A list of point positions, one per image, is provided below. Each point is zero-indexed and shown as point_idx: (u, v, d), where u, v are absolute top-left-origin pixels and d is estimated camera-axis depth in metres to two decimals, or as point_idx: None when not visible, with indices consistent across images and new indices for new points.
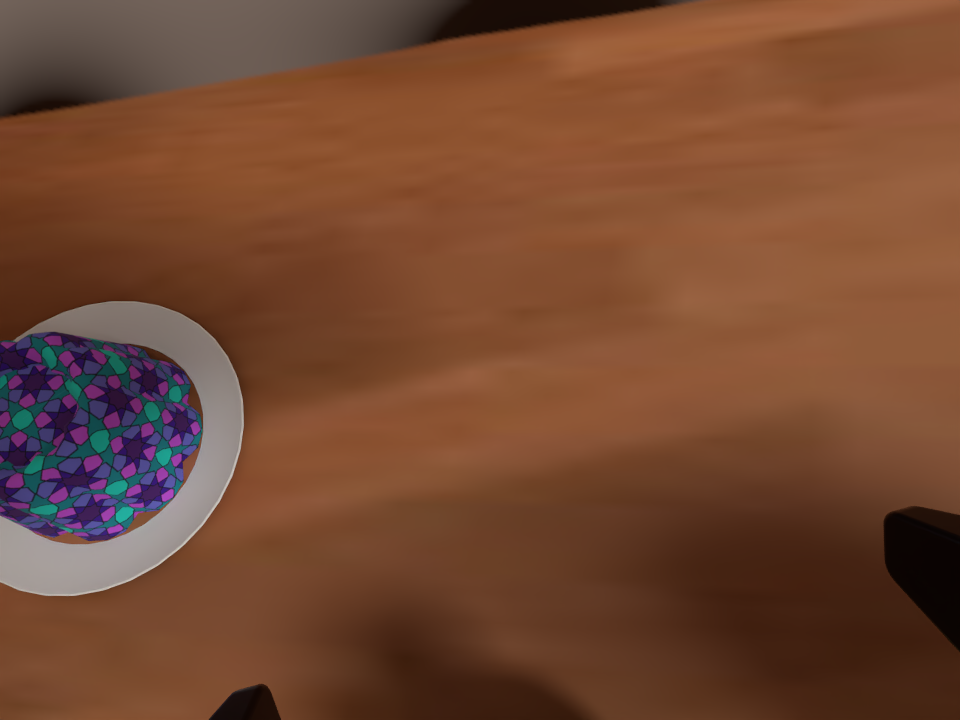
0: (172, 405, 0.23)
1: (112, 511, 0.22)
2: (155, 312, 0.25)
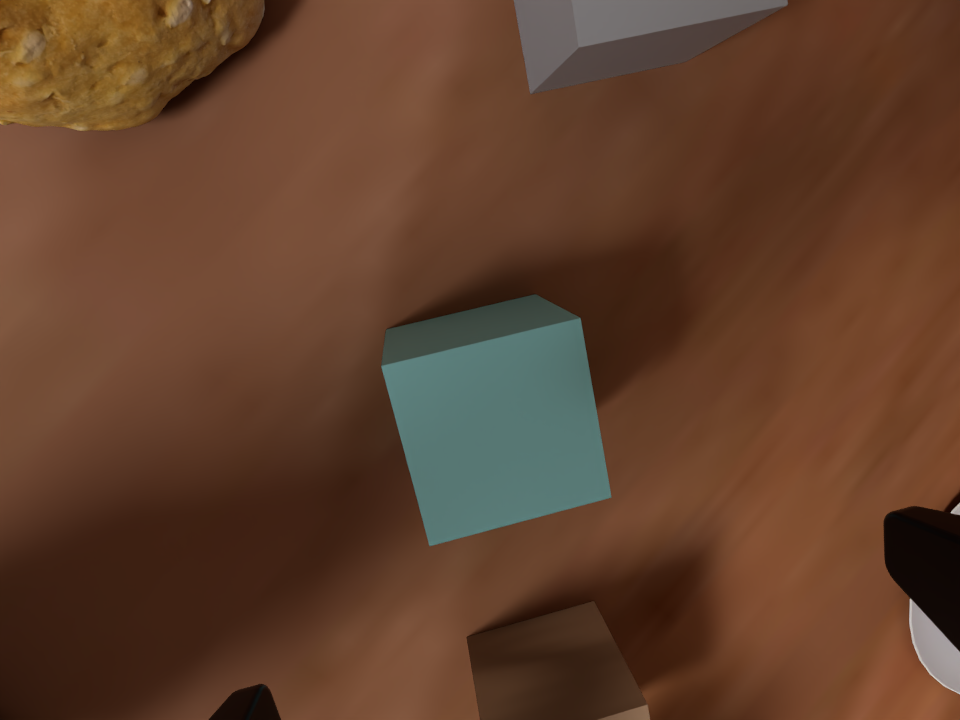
0: None
1: None
2: None
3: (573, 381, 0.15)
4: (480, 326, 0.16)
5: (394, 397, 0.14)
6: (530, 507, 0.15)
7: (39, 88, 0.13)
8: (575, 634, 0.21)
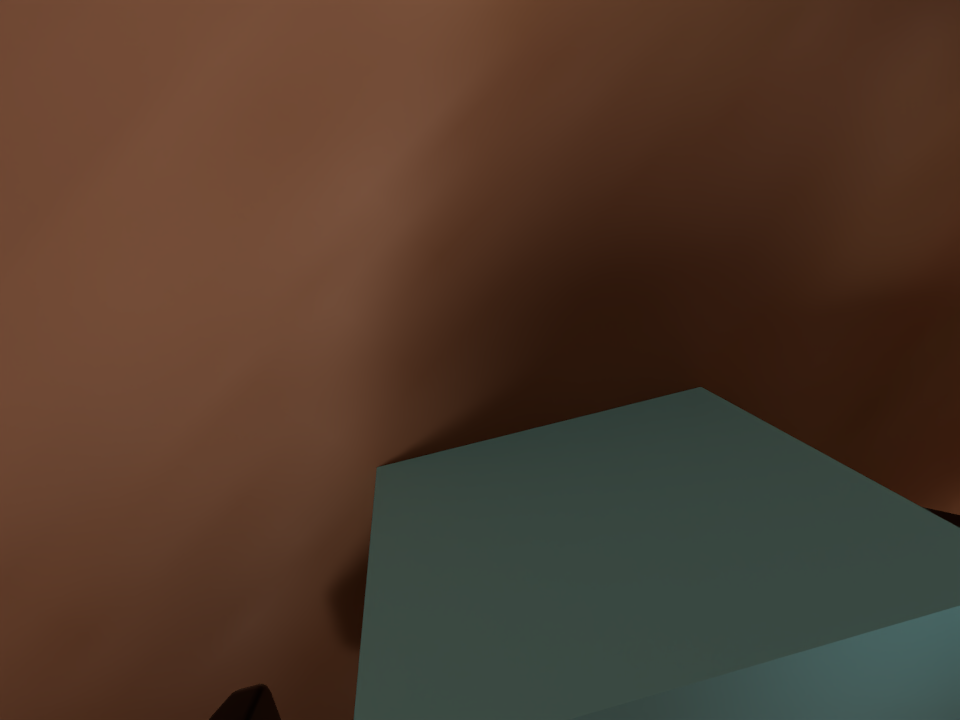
0: None
1: None
2: None
3: None
4: (638, 528, 0.06)
5: None
6: None
7: None
8: None
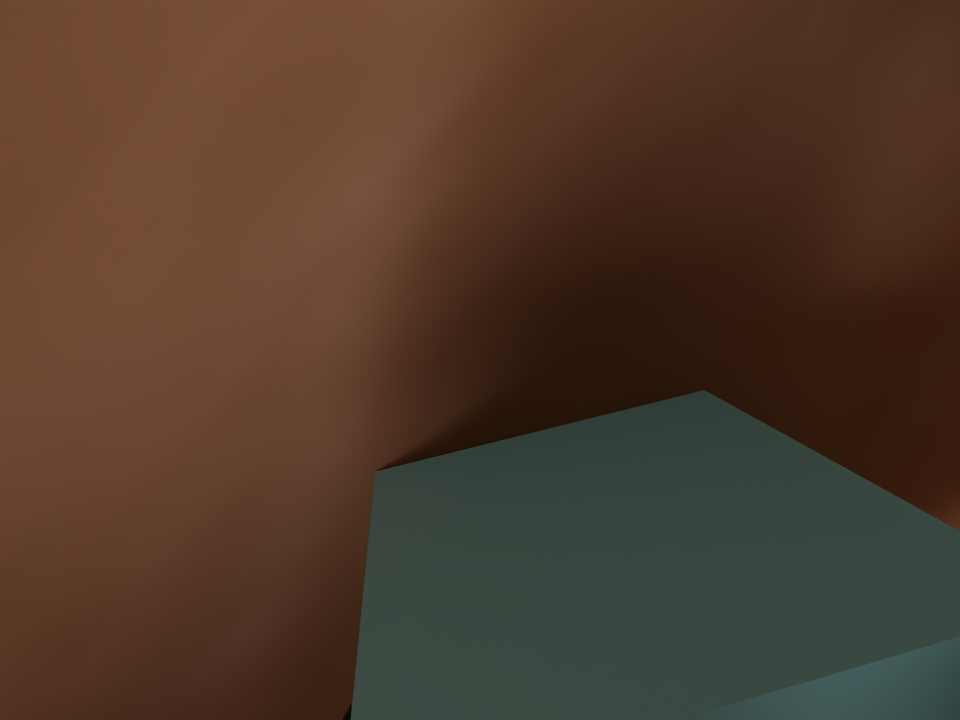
0: None
1: None
2: None
3: None
4: (645, 540, 0.05)
5: None
6: None
7: None
8: None
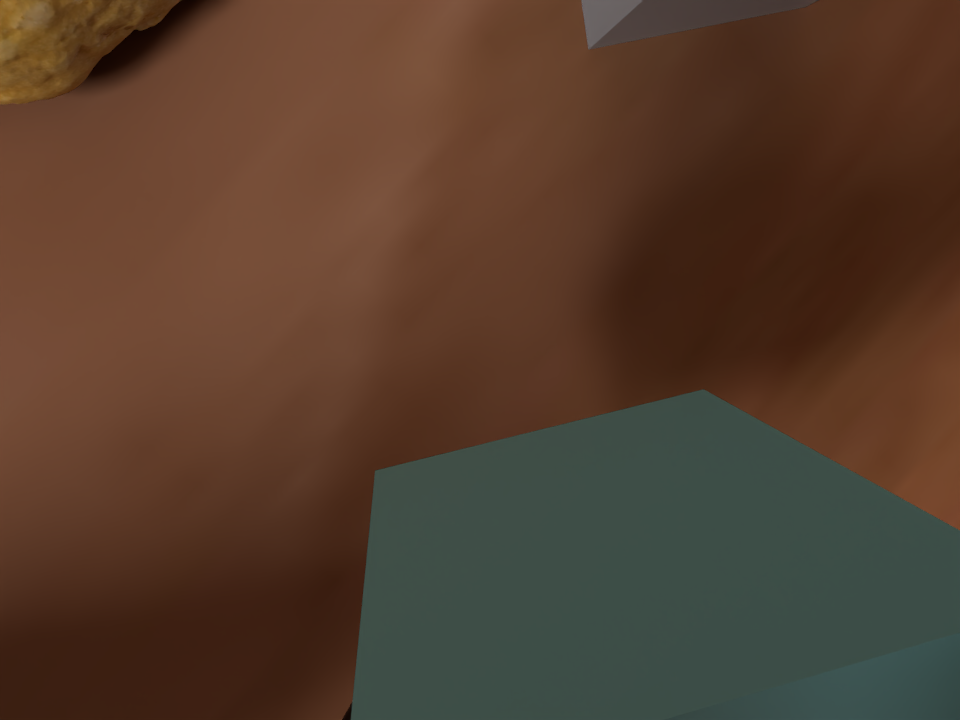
0: None
1: None
2: None
3: None
4: (644, 539, 0.05)
5: None
6: None
7: None
8: None
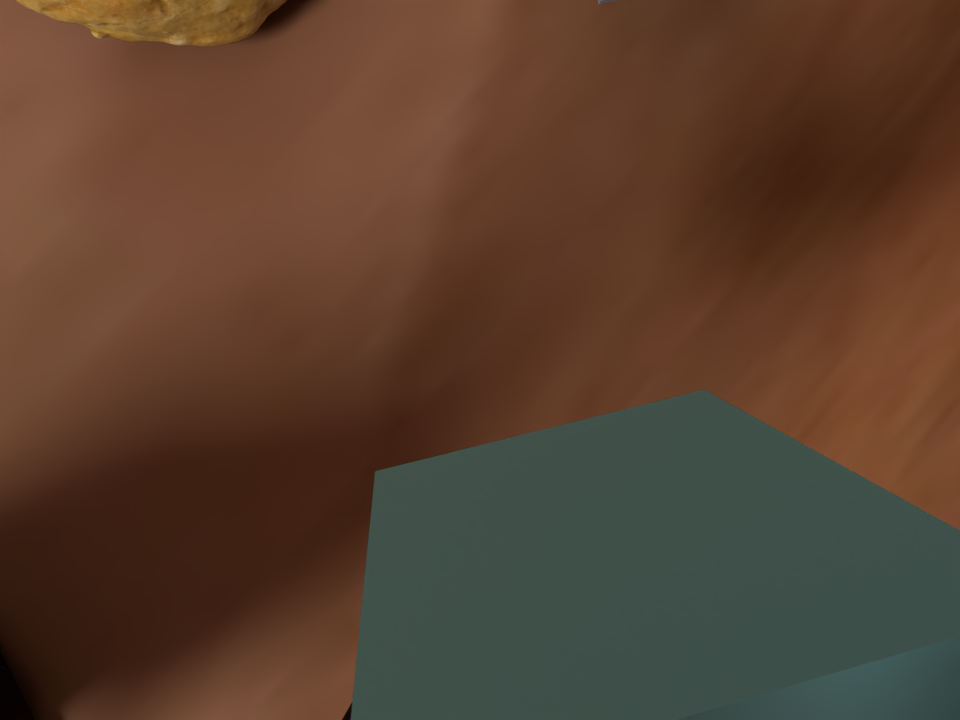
0: None
1: None
2: None
3: None
4: (645, 540, 0.05)
5: None
6: None
7: None
8: None
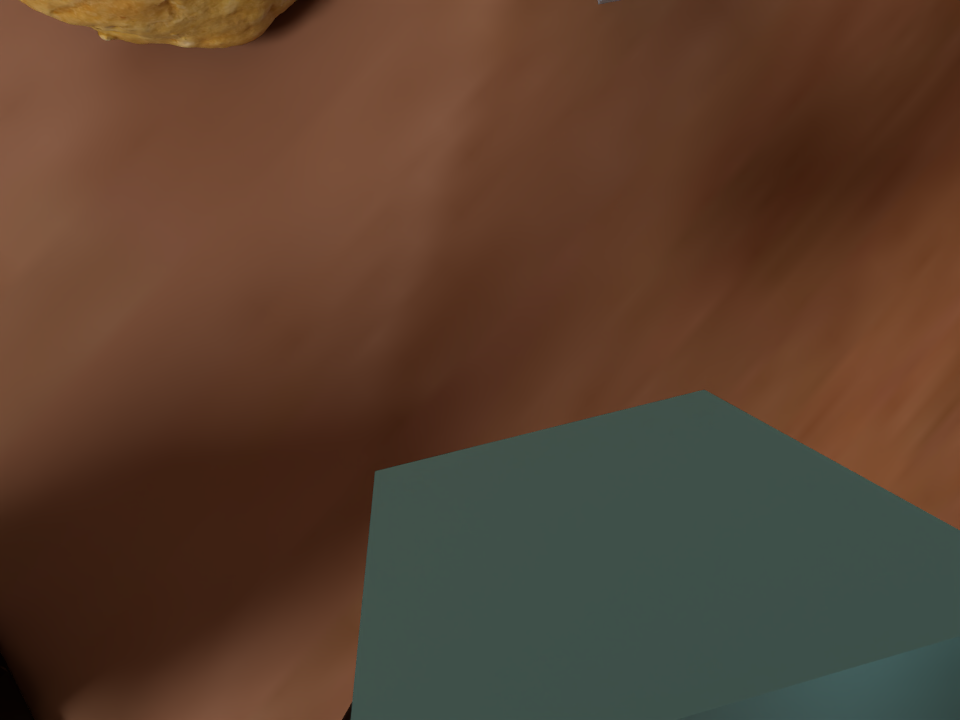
0: None
1: None
2: None
3: None
4: (645, 540, 0.05)
5: None
6: None
7: None
8: None
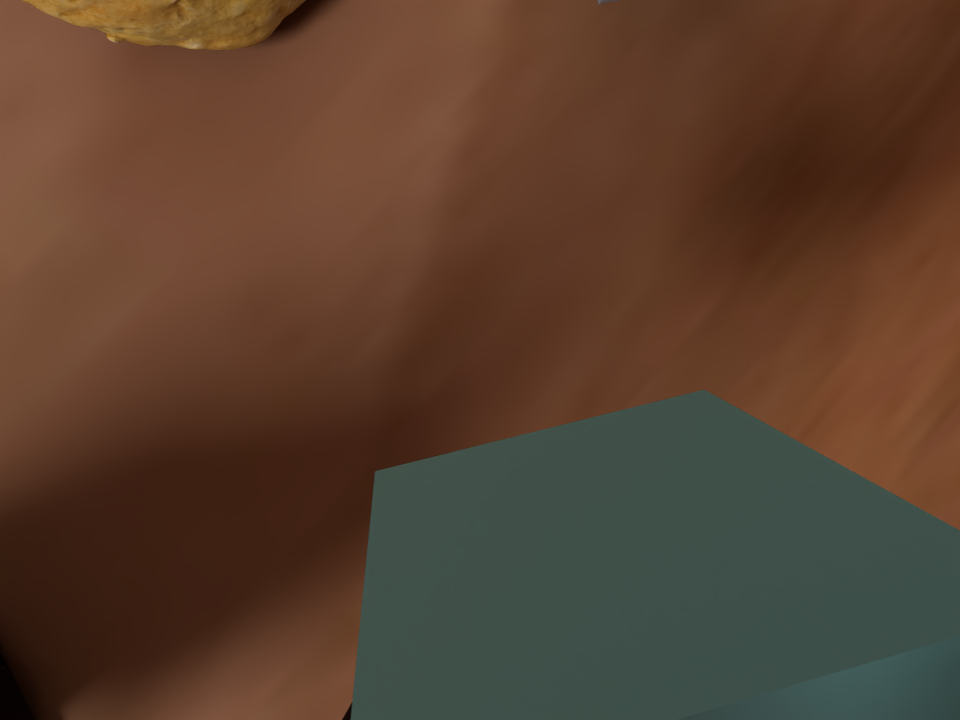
0: None
1: None
2: None
3: None
4: (645, 540, 0.05)
5: None
6: None
7: None
8: None
